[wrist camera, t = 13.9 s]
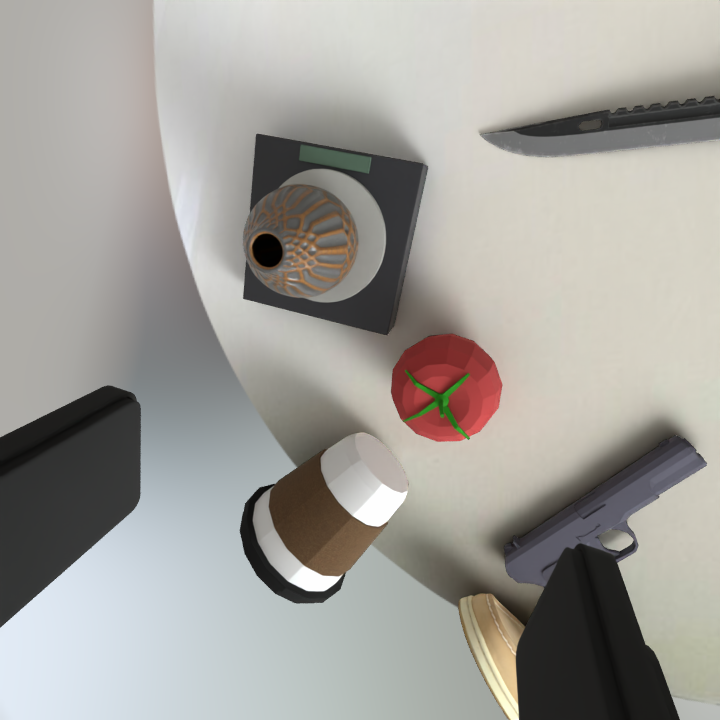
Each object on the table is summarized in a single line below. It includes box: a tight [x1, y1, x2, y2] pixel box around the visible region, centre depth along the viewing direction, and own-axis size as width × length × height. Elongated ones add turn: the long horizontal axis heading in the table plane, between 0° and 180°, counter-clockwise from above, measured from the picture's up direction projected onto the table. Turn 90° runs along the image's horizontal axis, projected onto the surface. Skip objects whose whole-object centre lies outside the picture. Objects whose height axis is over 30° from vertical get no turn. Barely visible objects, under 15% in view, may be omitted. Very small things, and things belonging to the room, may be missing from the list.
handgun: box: [504, 435, 707, 587], centre depth 36 cm, size 18×2×12 cm
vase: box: [243, 184, 359, 298], centre depth 28 cm, size 7×7×9 cm
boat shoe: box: [458, 593, 525, 720], centre depth 38 cm, size 25×9×9 cm
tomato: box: [391, 334, 502, 442], centre depth 32 cm, size 8×8×8 cm
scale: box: [243, 134, 428, 335], centre depth 33 cm, size 12×12×3 cm
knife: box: [480, 96, 720, 157], centre depth 26 cm, size 25×2×5 cm
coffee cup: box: [240, 432, 409, 603], centre depth 37 cm, size 11×11×12 cm
